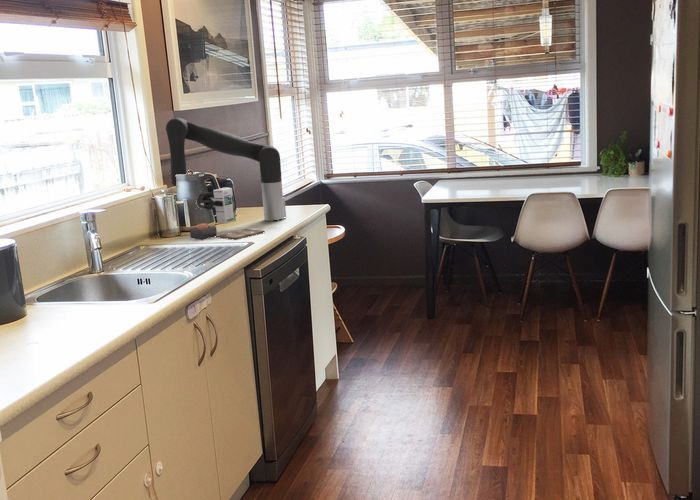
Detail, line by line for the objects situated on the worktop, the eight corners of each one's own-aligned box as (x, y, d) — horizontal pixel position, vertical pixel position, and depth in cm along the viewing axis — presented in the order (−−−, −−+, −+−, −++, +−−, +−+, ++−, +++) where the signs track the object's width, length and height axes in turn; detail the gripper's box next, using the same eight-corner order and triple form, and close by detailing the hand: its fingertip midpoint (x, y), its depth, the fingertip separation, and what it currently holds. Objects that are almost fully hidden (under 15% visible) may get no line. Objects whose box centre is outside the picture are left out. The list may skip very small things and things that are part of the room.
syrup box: (226, 223, 322) (222, 189, 319) (216, 223, 326) (213, 189, 323) (236, 221, 327) (232, 187, 324) (226, 220, 330) (222, 187, 327)
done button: (204, 230, 320) (203, 222, 319) (210, 230, 317) (210, 223, 316) (195, 231, 316) (194, 224, 316) (202, 232, 313) (201, 225, 313)
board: (245, 230, 327) (245, 228, 326) (264, 232, 319) (264, 230, 319) (216, 237, 315) (215, 235, 315) (235, 239, 307) (235, 237, 307)
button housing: (205, 234, 322) (204, 225, 321) (216, 236, 317) (216, 226, 316) (190, 238, 317) (189, 228, 316) (202, 239, 312) (201, 230, 311)
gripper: (188, 194, 328) (213, 196, 317) (215, 189, 338) (240, 191, 327) (190, 212, 330) (215, 214, 319) (217, 206, 340) (242, 208, 329)
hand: (228, 202), depth 323 cm, fingers closed on syrup box, 6 cm apart
